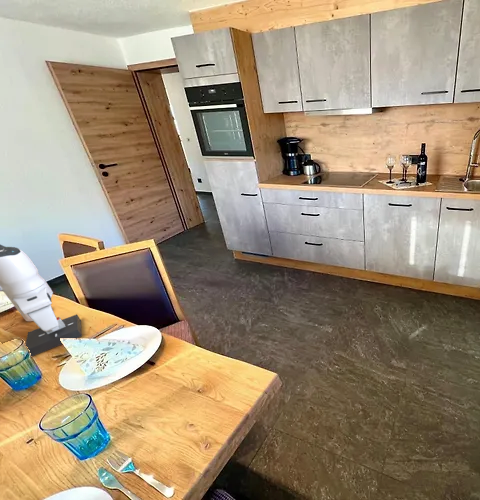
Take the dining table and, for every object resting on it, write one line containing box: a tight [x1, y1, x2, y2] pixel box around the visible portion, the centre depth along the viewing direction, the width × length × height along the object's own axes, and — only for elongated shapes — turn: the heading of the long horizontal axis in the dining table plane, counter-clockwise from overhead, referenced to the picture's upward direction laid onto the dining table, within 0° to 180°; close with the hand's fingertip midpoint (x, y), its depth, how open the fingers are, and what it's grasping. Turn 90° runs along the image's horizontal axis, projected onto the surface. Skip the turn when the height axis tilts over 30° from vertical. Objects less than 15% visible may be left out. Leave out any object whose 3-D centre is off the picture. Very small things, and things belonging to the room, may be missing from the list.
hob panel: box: [25, 314, 83, 357], centre depth 98 cm, size 13×11×3 cm
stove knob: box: [46, 316, 65, 334], centre depth 97 cm, size 5×2×4 cm, turn 139°
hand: (55, 327), depth 98 cm, fingers closed, pressing on stove knob
